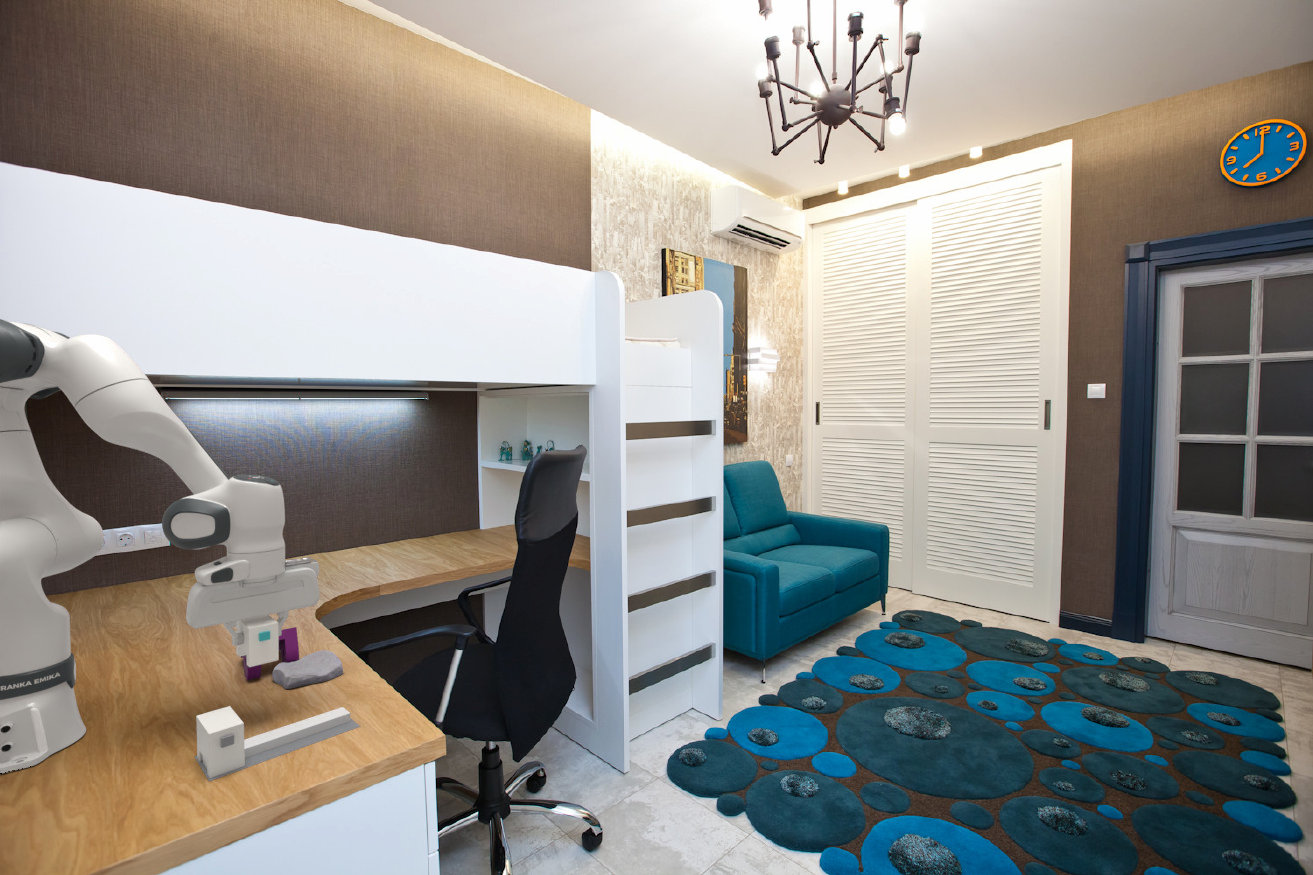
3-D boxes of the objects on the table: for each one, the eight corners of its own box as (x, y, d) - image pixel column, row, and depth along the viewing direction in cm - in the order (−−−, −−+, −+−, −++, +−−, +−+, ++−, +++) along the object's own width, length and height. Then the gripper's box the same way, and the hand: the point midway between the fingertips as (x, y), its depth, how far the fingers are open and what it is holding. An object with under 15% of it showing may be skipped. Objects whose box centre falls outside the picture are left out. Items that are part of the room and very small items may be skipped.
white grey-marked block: (210, 779, 91) (209, 735, 91) (197, 757, 98) (196, 715, 97) (245, 767, 95) (244, 724, 94) (230, 746, 101) (229, 705, 101)
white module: (250, 668, 105) (250, 629, 105) (236, 654, 111) (236, 617, 111) (279, 660, 109) (279, 623, 108) (264, 647, 115) (264, 611, 115)
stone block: (348, 682, 132) (328, 662, 138) (348, 662, 131) (329, 643, 137) (287, 704, 123) (269, 681, 129) (288, 683, 122) (269, 661, 128)
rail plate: (209, 787, 91) (208, 771, 91) (194, 762, 98) (194, 747, 98) (360, 731, 107) (360, 717, 107) (339, 713, 114) (338, 700, 114)
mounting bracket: (240, 688, 139) (248, 677, 126) (238, 651, 141) (245, 636, 128) (288, 677, 145) (300, 665, 132) (285, 641, 147) (296, 626, 134)
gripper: (313, 552, 120) (313, 622, 120) (183, 570, 105) (184, 650, 105) (324, 558, 115) (325, 630, 116) (191, 577, 100) (192, 660, 101)
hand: (257, 639), depth 110 cm, fingers closed on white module, 4 cm apart
